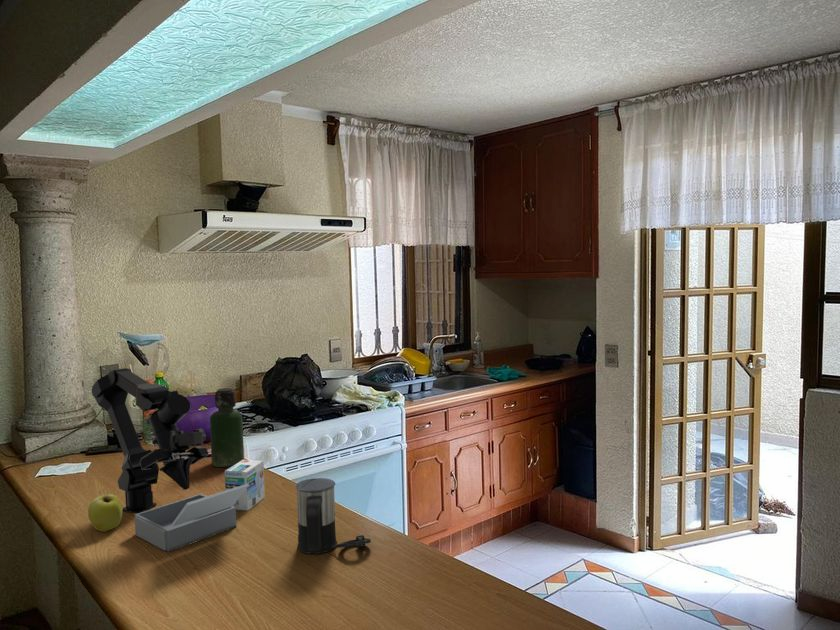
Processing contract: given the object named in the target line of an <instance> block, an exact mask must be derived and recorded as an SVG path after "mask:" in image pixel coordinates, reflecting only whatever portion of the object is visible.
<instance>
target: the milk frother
mask: <svg viewBox="0 0 840 630" xmlns="http://www.w3.org/2000/svg"><path fill="white" fill-rule="evenodd" d="M335 486H336V482H335V481H334V480H333V479H329V478H323V477H319V478H318V477H317V478H308V479H304V480H301V481H298V482H297V483H296V484H295V488H296V493H297V496H296V497H297V501H296V502H297V527H298V529H297V530H298V534H297V542H298V543H297V549H298V551H300V552H302V553H305V554H309V555H310V554H311V555H312V554H324V553H327V552H330V551H332V550H333V549H337V548H349V547H356V546H357V548H364V547H366V544H370V543H371V541H372V540H371V538H368V537H367V538H365V534H364V535H363V534H361V535H356V537H355V539H350V540H346V541H342V542H341V543H338V541H337V533H336V513H335V512H336V510H335V504H336V503H335Z"/></svg>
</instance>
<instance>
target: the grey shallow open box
mask: <svg viewBox="0 0 840 630" xmlns="http://www.w3.org/2000/svg"><path fill="white" fill-rule="evenodd" d="M207 496H208V495H207V494H202V493H199V494H195V495H193V496H190V497H186V498H182V499H180V500H177V501H174V502H170V503H167V504H164V505H161V506H158V507H155V508H154V507H153V508H150V509H147V510H145V511H143V512H141V513H134V531H135V533H134V534H135V536H137V537H139V538H141V539H142V540H144V541H146V542H148V543H150V544H151V545H153V546H155V547H156V548H159V549H161V550H162V551H164V552H165V551H166V552H167V553H170V552H173V551H175V549H176V550H178V549H177V548H179V549H181V548H183V547H182V546H184V547H186V546H185V545H187V546H189V545H191V544H190V543H192V544H194V543H193V542H195V541H197V542H199V541H198V540H200V541H202V540H201V539H203V538H205V539H207V538H206V537H208V538H210V537H209V536H211V537H213V536H215V535H214V534H216V535H218V534H217V533H219V532H221V533H223V532H222V531H224V532H226V531H225V530H227V529H229V530H231V528H232V529H234V527H235V528H237V510H236V507H234V506H232V507H229V508H226V509H223V510H220V511H217V512H214V513H211V514H208V515H205V516H203V517H200V518H197V519H194V520H191V521H188V522H185V523H182V524H179V525H176V526H174V527H172V525H171V524H172V523H173V522H174V520H175V519H176V518H177V516H178V515H179V513H180V512H181V511H182V509H183V508H184V506H185V505H186V504H187V503H188V502H191V501H194V500H197V499H201V498H204V497H207ZM227 531H228V530H227ZM219 534H220V533H219ZM212 535H213V536H212ZM203 540H204V539H203ZM195 543H196V542H195ZM188 544H189V545H188ZM180 547H181V548H180Z"/></svg>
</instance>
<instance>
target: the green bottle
mask: <svg viewBox="0 0 840 630" xmlns="http://www.w3.org/2000/svg"><path fill="white" fill-rule="evenodd" d="M214 404H215V408H216V409H218V410H216V411H214V412H213V413H212V414H211V415H210V417H209V428H210V433H209V434H210V449H211V450H210V451H211V452H210V455H211V465H212V466H214V467H218V468H231V467H232V466H234V465H235V464H237V463H238V462H240V461H242V460H245V456H244V455H245V450H244V448H245V447H244V426H243V423H244V422H243V415H242V413H241V412H240V410H238V409H234V408H235V407H236V404H237V394H236V392H235V390H234V389H233V388H230V387H229V388H228V387H227V388H226V387H225V388H219V389H217V390H216V391H215V394H214Z"/></svg>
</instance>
